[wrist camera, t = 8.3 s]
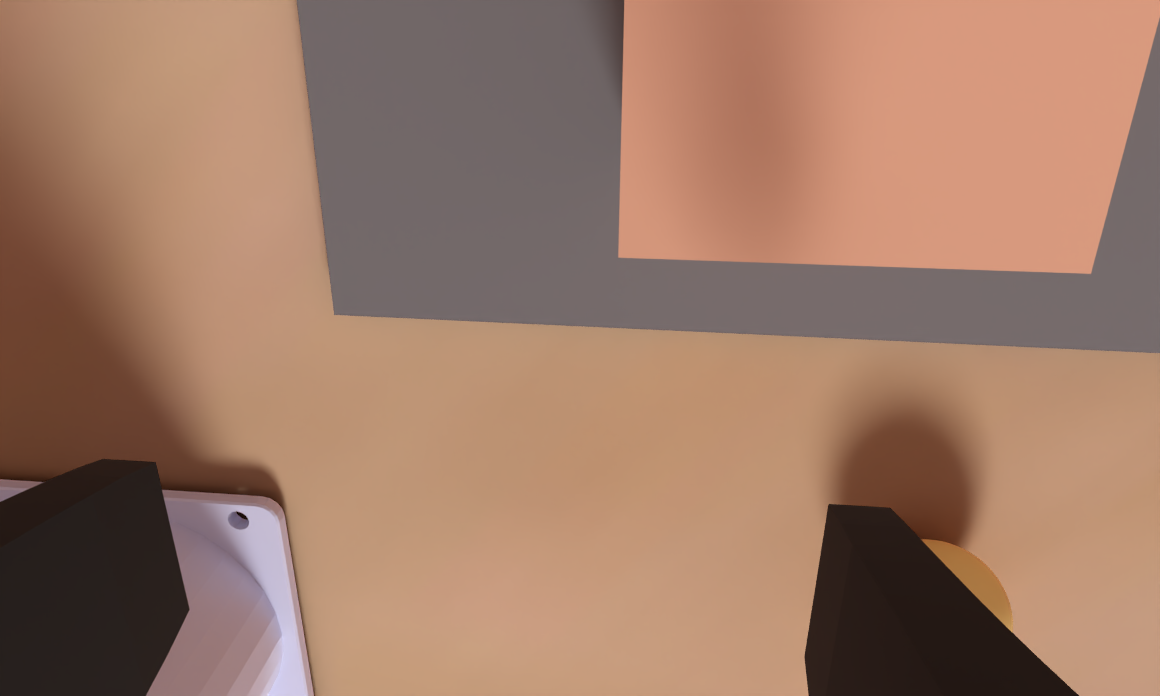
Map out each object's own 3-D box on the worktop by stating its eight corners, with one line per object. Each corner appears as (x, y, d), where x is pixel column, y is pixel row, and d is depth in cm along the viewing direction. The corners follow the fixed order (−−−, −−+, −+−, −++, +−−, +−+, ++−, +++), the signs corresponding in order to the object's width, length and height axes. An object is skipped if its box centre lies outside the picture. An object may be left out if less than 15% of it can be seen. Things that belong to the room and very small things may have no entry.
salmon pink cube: (635, 155, 16) (618, 257, 11) (646, -196, 14) (631, -295, 8) (943, 163, 16) (1091, 273, 10) (1009, -199, 13) (1246, -307, 8)
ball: (832, 615, 21) (859, 721, 18) (851, 505, 19) (883, 601, 17) (968, 624, 21) (1017, 734, 18) (996, 514, 19) (1055, 614, 16)
